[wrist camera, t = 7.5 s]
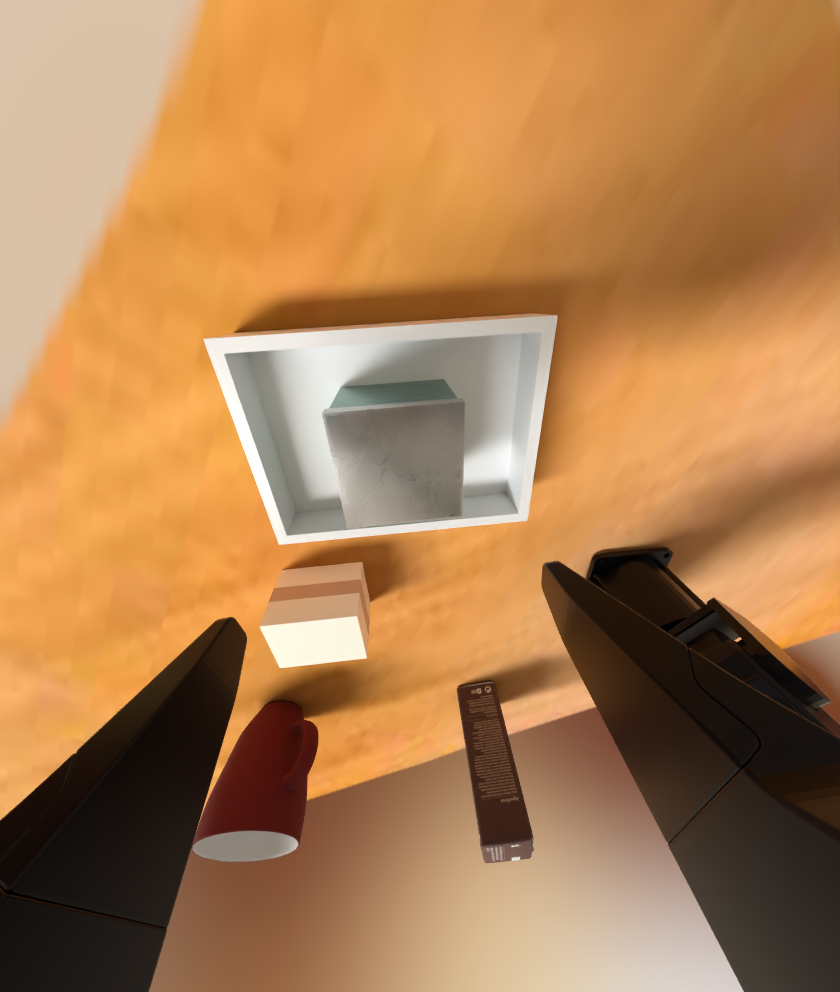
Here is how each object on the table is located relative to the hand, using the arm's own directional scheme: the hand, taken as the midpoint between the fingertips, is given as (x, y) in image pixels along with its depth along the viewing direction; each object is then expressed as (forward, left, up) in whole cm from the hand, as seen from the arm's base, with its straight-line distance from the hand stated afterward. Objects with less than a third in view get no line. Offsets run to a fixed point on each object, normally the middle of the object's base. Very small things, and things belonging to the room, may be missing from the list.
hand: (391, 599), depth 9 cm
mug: (+14, +28, -12) cm, 33 cm away
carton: (+6, +12, -12) cm, 18 cm away
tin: (-1, -1, -11) cm, 11 cm away
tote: (0, -1, -12) cm, 12 cm away
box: (-6, +31, -12) cm, 34 cm away
